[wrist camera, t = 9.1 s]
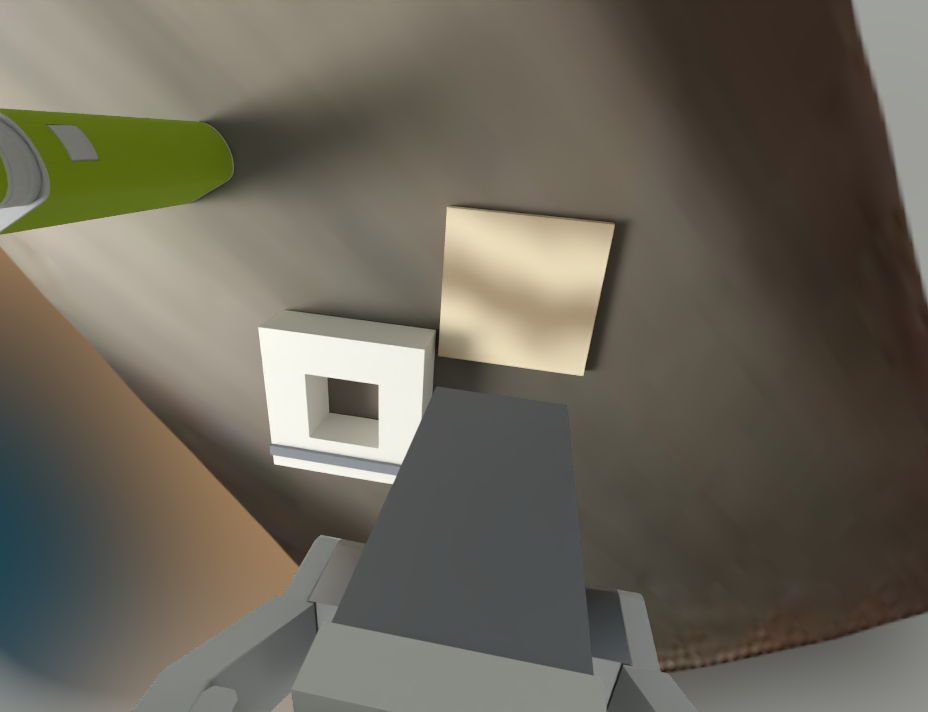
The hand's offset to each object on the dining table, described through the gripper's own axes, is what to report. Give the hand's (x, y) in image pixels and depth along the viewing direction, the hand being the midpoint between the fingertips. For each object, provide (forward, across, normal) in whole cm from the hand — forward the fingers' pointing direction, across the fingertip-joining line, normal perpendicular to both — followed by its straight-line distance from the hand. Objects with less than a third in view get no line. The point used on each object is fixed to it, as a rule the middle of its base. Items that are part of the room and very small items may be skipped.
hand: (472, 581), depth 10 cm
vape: (+23, +22, -6) cm, 32 cm away
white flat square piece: (+22, +11, +9) cm, 27 cm away
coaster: (+22, 0, 0) cm, 22 cm away
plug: (+5, 0, 0) cm, 5 cm away
